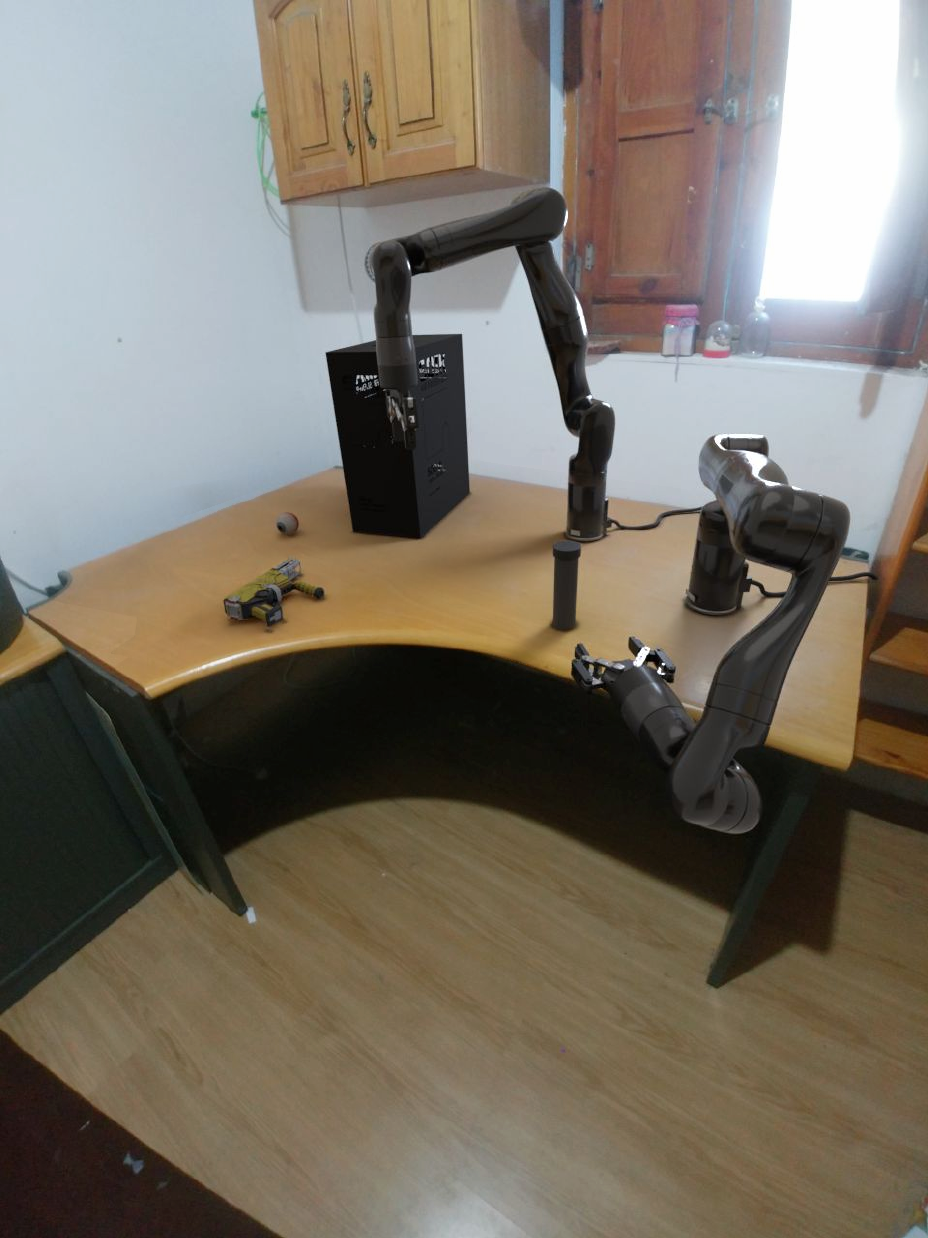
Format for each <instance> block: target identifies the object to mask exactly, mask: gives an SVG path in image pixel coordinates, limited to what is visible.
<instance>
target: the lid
mask: <svg viewBox="0 0 928 1238" xmlns="http://www.w3.org/2000/svg"><path fill="white" fill-rule="evenodd" d="M581 556H582V545H581V543H580V542H579V541H576V540H572V539H563V540H558V541H555V542H553V544H552V557H553V558H554V557H555V558H556V559H559V560H574V559H577V558H580V557H581Z"/></svg>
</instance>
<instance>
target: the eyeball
mask: <svg viewBox="0 0 928 1238" xmlns="http://www.w3.org/2000/svg"><path fill="white" fill-rule="evenodd" d="M299 525H300V522H299V519H298V517H297V516H296V515H295V514H294V513H292V512H287V511H286V512H282V513H280V514H279V515H278V516H277V517H276V520H275V527H276V529H277V530H278V531H279V532H280V533H281V534H282V535H285V536H286V535H287V536H289V535H293V534H295V533H296V532H297V531H298V529H299Z"/></svg>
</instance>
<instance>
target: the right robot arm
mask: <svg viewBox="0 0 928 1238" xmlns="http://www.w3.org/2000/svg"><path fill="white" fill-rule="evenodd" d="M769 456H770V446H769V441H768V439H767V437H766V436H765V435H762V434H754V433H753V434H751V433H749V434H745V433H744V434H741V433H740V434H739V433H738V434H737V433H736V434H734V433H728V434H726V433H724V434H722V433H721V434H714V435H712V436H710V437H709V438H707V439H706V440H705V441H704V443H703V444H702V447H701V449H700V451H699V455H698V462H697V465H698V466H697V467H698V468H697V469H698V475H699V479H700V481H701V483H702V485H703V486H704V487H705V488H706V489H707V490H710V492H711V493H713V494H714V497H715V500H712V501H709V502H707V503H705V504H704V505H702V506H703V507H702V506H701V507H702V509H701V510H699V511H700V512H699V518H698V522H697V523H698V524H697V530H696V537H695V543H694V550H693V557H692V563H691V569H690V577H689V582H688V589H687V588H685V595H686V599H685V601H686V602H685V603H686V606H688V608H690V609H691V610H693V611H695V612H697V613H700V614H703V615H708V616H727V615H730V614H733V613H734V612H736V610H739V609H742V602H743V598H744V593H750V591H751V587H752V586H755V587H757V588H758V589H759V592H760V594H761V595H763V596H765V597H769V598H779V597H781V600H780V601H779V603H778V604H777V605H776V606H775V607H774V608H773V610H772V611H771V612H770V613H768V614H767V615H766V617H764V619H762V620H761V621H759V623H758V624H756V625H755V626H754V627H753V628H751V629H750V630H749V631H748V632H746V633H745V634H744V635H743V636H742V637H740V638H739V639H738V640H737V641H736V642H735V643H734V644H732V646H731V647H730V648H729V649H728V650H727V651H726V653H725V654H724V655H722V658H721V659H720V661H719V662H718V665H717V667H716V668H715V671H714V674H713V677H712V679H711V680H712V681H711V683H710V686H709V689H708V693H707V696H706V699H705V703H704V705H705V706H703V710H702V714H701V717H700V718H699V720H698V721H697V723H696V721H695V720H694V718H692V716H691V715H690V714H689V712H688V711H687V710H686V708H685V706H684V704H683V703H682V701H681V699H680V698H679V697H678V695H676V693H675V692H674V691H673V689H672V688H671V687H670V686H669V684H673V683H674V682H675V678H676V671H677V667H676V665H675V664H674V661H672V660H671V659H670V657H669V656H668V654H667V653H666V651H664V649H663V648H661V647H655V648H654V649H651V648H650V647H648V646H645V644H644V643H643V642H642V641H641V640H640V639H639V638H636V637H635V636H629V637H628V644H627V647H628V650H629V651H630V652H631V654H632V655H633V656H634V658H635V659H631V658H627V659H623V660H612V661H610V660H608V659H606V658H603V657H598V658H595V657H593V656H590V653H589V652H588V650H587V649H586V647H585V645H584V644H583V643H582V642H580V643H576V646H575V647H574V658H572V659H571V671H570V675H571V677H572V678H573V680H574V681H575V683H576V685H577V686H578V687H579V689H580V690H581V691H582V693H583V694H584V695H585V696H590V695H592V694H593V691H595V690H598V689H602V690H603V691H605V692H607V693H608V695H609V697H610V699H611V702H612V704H613V705H614V707H615V708H616V710H617V711H618V713H619V714H620V716H621V718H622V719H623V722H624V723H625V724H626V725H627V727H628V728H629V730H630V732H631V733H632V734H633V735H634V736H635V737H636V739H637V740H638V741H639V742H640V743H641V746H643V748H644V749H645V751H646V753H647V754H648V756H649V758H650V760H652V762H653V763H654V765H656V767H657V768H658V769H659V770H660V771H662V772H663V773H665V774H666V777H665V783H664V797H665V802H666V804H667V807H668V809H669V810H670V812H671V813H672V815H673V816H675V817H676V818H677V819H679V820H680V821H682V822H685V823H688V824H691V825H695V826H698V827H702V828H706V829H709V830H713V831H717V832H721V833H725V834H729V835H739V834H744V833H747V832H750V831H751V830H753V829H754V828H755V827H756V826H757V825H758V823H759V822H760V820H761V818H762V815H763V811H764V810H763V809H764V804H763V797H762V793H761V791H760V789H759V787H758V784H757V783H756V781H755V780H754V778H753V777H752V776H751V774H750V772H748V771H747V770H746V769H745V768H744V767H743V766H742V765H741V763H739V762H738V761H736V760H735V759H734V758H735V756H736V755H737V754H738V753H740V752H741V751H757V750H760V749H762V747H763V746H764V745H765V743H766V742H767V739H768V736H769V734H770V730H771V726H772V724H773V720H774V717H775V714H776V710H777V707H778V703H779V700H780V698H781V697H780V696H781V693H782V691H783V686H784V684H785V681H786V677H787V675H788V672H789V670H790V667H791V665H792V662H793V659H794V658H795V655H796V653H797V650H798V648H799V646H800V644H801V642H802V640H803V638H804V636H805V634H806V632H807V630H808V628H809V625H810V623H811V622H812V620H813V618H814V615H815V614H816V611H817V609H818V607H819V605H820V603H821V601H822V598H823V596H824V593H825V591H826V590H827V588H828V585H829V583H830V582H843V581H851V580H856V579H859V578H864V577H867V578H870V579H872V580H874V581H878V580H879V578H878V576H877V575H876V574H875V573H874V572H870V571H863V572H858V573H857V572H856V573H854V574H849V575H841V576H833V574H834V572H835V569H836V567H837V565H838V563H839V561H840V558H841V556H842V553H843V551H844V548H845V545H846V543H847V540H848V535H849V531H850V527H851V513H850V509H849V506H848V505H847V504H846V503H845V502H843V501H841V500H839V499H838V498H837V499H836V498H834V497H831V496H828V495H825V494H822V493H817V492H814V491H810V490H806V489H803V488H799V487H795V486H792V485H790V483H789V479H788V476H787V475H786V473H785V471H784V470H783V469H782V467H781V466H780V465H779V464H778V463H776V462H775V461H774V460H773V459H772V458H770V457H769ZM746 560H747V561H749V562H752V563H755V564H759V565H762V566H766V567H769V568H773V569H775V570H779V571H781V572H782V571H783V572H785V573H788V574H790V575H791V578H790V581H789V583H788V585H787V589H786V591H777V592H771V591H767V590H766V589H765V586H764V584H763V583H762V582H760V581H758V580H755V579H753V577H751V576H750V575H748V574H749V569H750V564H749V563H748V562H747V561H746ZM649 663H653V666H654V667H652V666H650V665H649ZM590 666H593V668H592V667H590ZM603 668H604V670H603Z"/></svg>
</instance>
